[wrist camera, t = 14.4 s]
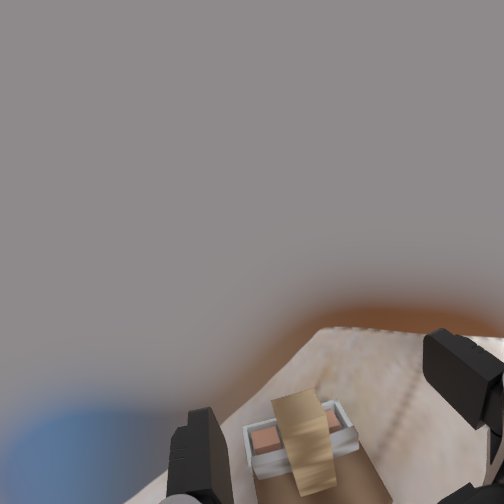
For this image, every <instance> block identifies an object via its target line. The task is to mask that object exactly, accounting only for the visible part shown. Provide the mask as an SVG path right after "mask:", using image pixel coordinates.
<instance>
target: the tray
mask: <svg viewBox="0 0 504 504" xmlns="http://www.w3.org/2000/svg"><path fill="white" fill-rule="evenodd" d="M321 405H322V407H323V409H324V411H327V410H330V409H332V410H333V412H334V414H335V416H336V418H337V420H338V422H339V424H340V430H343V429H346V428H348V427H351V426H353V425H352V424H351V422H350V420H349V418H348V417H347V415H346V413H345V411H344V410H343V408H342V406H341V404H340V403H339V401H338V399H337V398H336V399H333V400H330V401H328V402H325V403H322V404H321ZM273 426H275V427H276V430H277V433H278V436H279V440H280V443H281V446H282V449H284V448H285V446H284V442H283V439H282V436H281V433H280V429H279V426H278V423H277V419H276V418H273V419H269V420H265V421H261V422H258V423H254V424H250V425H245V426H242V429H243V435H244V441H245V447H246V453H247V459H248V465H249V468H250V471H251V473H252V475H253V472H252V466H251V457H253V456H257V454H256V452H255V450H254V445H253V440H252V435H251V432H254V431H258V430H262V429H265V428H269V427H273Z"/></svg>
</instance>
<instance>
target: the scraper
mask: <svg viewBox="0 0 504 504" xmlns="http://www.w3.org/2000/svg"><path fill="white" fill-rule="evenodd" d="M271 402H272V406H273V409H274V412H275V416H276V419H277V423H278V426H279V429H280V433H281V436H282V439H283V442H284V446H285V448H284V449H280V450H277V451H273V452H269V453H265V454H261V455H257V456H253V457H251V462H252V467H253V469H254V471H255V474H256V476H257V478H258V480H262V479H266V478H270V477H274V476H278V475H282V474H286V473H289V472H293V474H294V477H295V481H296V484H297V487H298V490H299V493H300V496H301V497H303V496H306V495H309V494H313V493H316V492H319V491H322V490H325V489H328V488H331V487H334V486H337V481H336V474H335V467H334V460H333V459H334V458H337V457H340V456H342V455H345V454H348V453H351V452H353V451H356V450H358V449H359V437H358V432H357V431H356V429H355V427H354V426H351V427H348V428H346V429H343V430H340V431H337V432H335V433H332V434H329V428H328V421H327V415H326V413H325V411H324V409H323V407H322V405H321V403H320V401H319V399H318V397H317V395H316V393H315V391H314V389H313V388H311V389H308V390H305V391H302V392H299V393H295V394H292V395H289V396H285V397H282V398H278V399H275V400H271Z"/></svg>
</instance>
